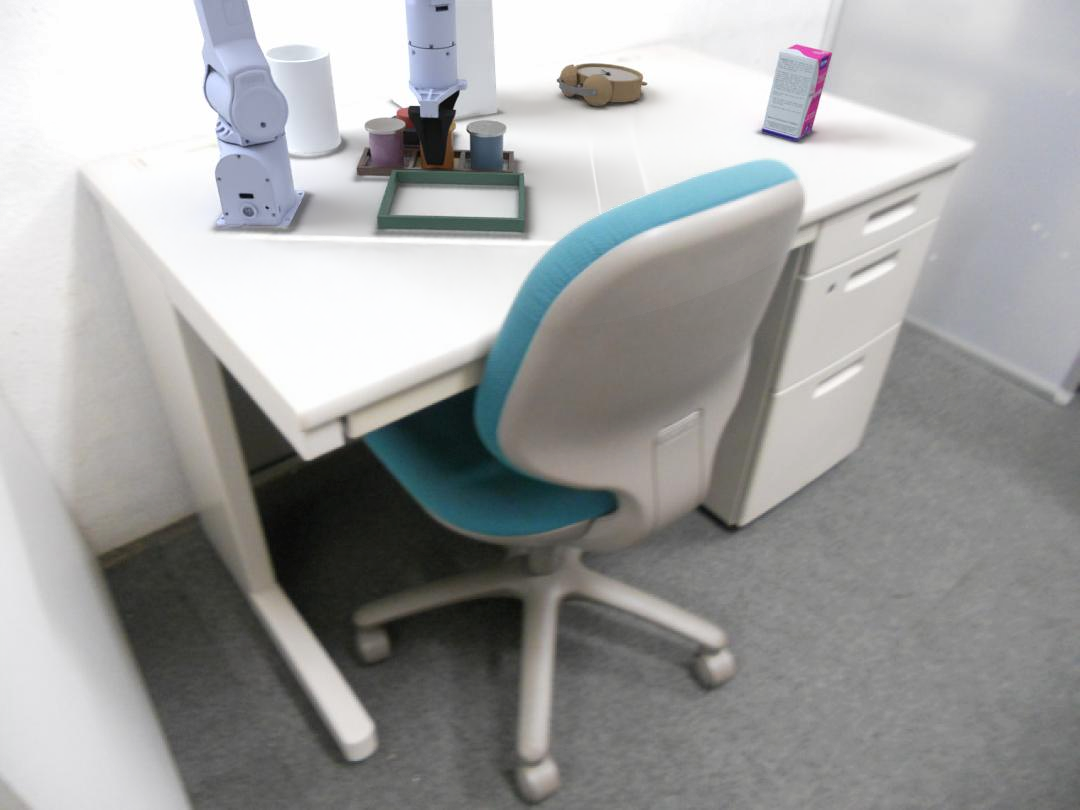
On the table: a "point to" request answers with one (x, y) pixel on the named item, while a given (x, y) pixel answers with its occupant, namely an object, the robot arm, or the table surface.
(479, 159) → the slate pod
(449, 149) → the coffee pod
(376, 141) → the mauve pod
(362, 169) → the pod stand
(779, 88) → the supplement box
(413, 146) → the button block
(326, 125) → the mug
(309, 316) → the table surface
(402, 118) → the button
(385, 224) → the tray
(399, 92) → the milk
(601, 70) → the alarm clock
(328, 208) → the table surface
